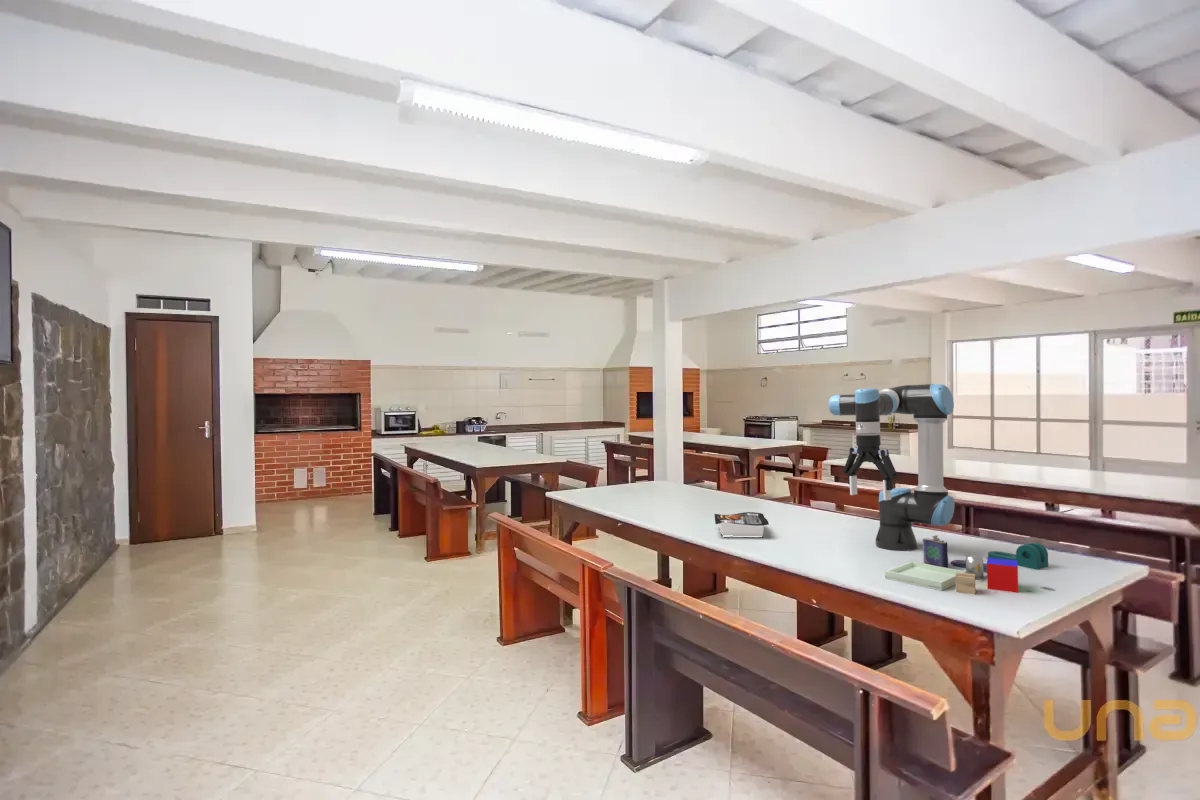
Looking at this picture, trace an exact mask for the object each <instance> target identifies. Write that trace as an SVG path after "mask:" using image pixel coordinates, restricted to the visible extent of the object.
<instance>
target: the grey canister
mask: <svg viewBox="0 0 1200 800" xmlns="http://www.w3.org/2000/svg"><path fill="white" fill-rule="evenodd" d="M984 570H985V569H984V556H982V555H978V554H966V555H965V571H966V573H968V574H975V581H976V580H978V581H979V580H981V581H982V580H984V577H985V576H984V572H985V571H984Z"/></svg>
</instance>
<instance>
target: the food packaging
mask: <svg viewBox="0 0 1200 800" xmlns="http://www.w3.org/2000/svg"><path fill="white" fill-rule="evenodd" d="M713 515H714V522H715V525H718V527H719V531H720V532H721V533H722V535H733V536H763V537H764V531H765V526H768V525H769V526H770V524H769V520H768V519H767V518H766V517H765V515H764V513H762V512H755V511H754V512H753V511H752V512H751V511H747V512H746V511H745V512H739V513H734V514H719V513H714V514H713ZM720 532H719V533H720ZM721 533H720V534H721Z"/></svg>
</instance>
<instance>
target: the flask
mask: <svg viewBox="0 0 1200 800" xmlns="http://www.w3.org/2000/svg"><path fill="white" fill-rule="evenodd" d="M922 543H923V544H922V545H923V546H922V547H923V548H922V549H923V550H922V551H923V552H922V553H923V564H929V565H934V566H939V567H945V568H949V557H948V554H949V553H948V552H949V551H948V542H947V541H945V540H943V539H940V538H939V535H938V534H937V535H932V538H929V537H924V538H922Z"/></svg>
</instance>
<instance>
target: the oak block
mask: <svg viewBox="0 0 1200 800" xmlns="http://www.w3.org/2000/svg"><path fill="white" fill-rule="evenodd" d="M955 593H959V594H967V595H976V580H975V574H968V573H959V572H956V584H955Z"/></svg>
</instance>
